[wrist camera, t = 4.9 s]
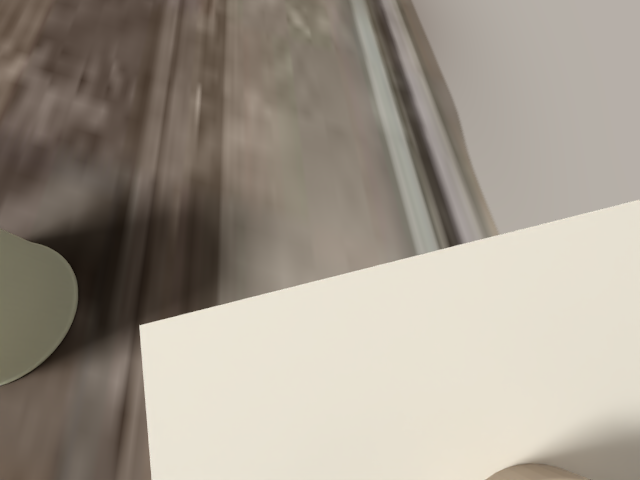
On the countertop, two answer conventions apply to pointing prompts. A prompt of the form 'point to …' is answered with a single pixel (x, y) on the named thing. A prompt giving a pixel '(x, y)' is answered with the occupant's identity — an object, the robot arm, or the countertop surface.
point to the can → (32, 304)
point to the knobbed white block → (416, 367)
